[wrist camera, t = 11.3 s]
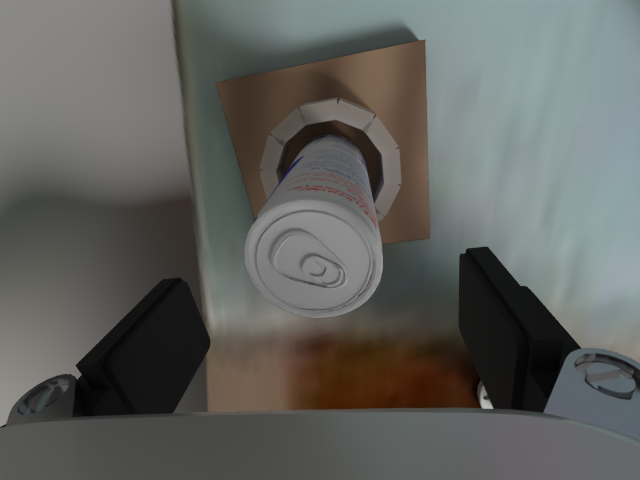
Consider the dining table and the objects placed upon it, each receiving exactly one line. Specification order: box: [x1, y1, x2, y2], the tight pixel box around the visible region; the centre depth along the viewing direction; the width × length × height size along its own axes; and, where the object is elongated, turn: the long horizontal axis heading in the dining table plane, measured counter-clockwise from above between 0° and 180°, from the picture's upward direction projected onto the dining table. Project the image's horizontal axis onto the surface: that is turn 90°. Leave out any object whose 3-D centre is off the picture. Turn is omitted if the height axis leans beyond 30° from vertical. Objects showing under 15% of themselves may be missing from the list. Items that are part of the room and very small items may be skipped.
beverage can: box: [244, 134, 383, 318], centre depth 19 cm, size 6×6×15 cm
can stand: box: [216, 40, 430, 244], centre depth 25 cm, size 15×15×4 cm
